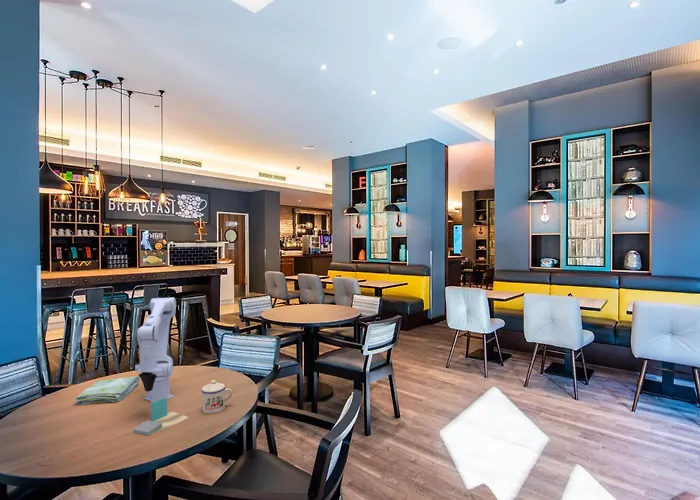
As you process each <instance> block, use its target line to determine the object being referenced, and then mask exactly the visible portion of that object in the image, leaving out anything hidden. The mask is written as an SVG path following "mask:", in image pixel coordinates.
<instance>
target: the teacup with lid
mask: <svg viewBox="0 0 700 500" xmlns="http://www.w3.org/2000/svg"><path fill="white" fill-rule="evenodd" d="M200 391H201V397H202V398H201V402H202V403H201V405H202V407H201V408H202V412H203V413H205V414H215V413H219V412H222V411H223V410H225V408H226V402H228V401H230V400H231V398H233V395H234V394H233V390H232V389H231V388H226V385H225V384H224V383H221V382H217V380H215V379H212V380H211V381H210V382H209V383H208V384H205V385H204V386H203V387H202V388H201V390H200ZM226 392H230V395H229V396H228V397H227V398H226V397H225V395H226Z"/></svg>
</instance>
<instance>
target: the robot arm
mask: <svg viewBox="0 0 700 500" xmlns="http://www.w3.org/2000/svg"><path fill="white" fill-rule="evenodd" d="M176 308H177V300H176V298H175V297H157V298H155V297H153V298H151V299H150V301H149V309H150V311H151V313H150V314H149V315H148V316H147V317H146V318H145V321H144V322H143V324H142V325H141V326H140V327H138V328H137V332H136V340H137V343H138V344H137V345H138V346H139V363H138V364H135V368H134V369H135V371H137V373H138V377H139V379H140V380H141V382H142V385H143V388H144V392H146V395H145V396H146V397H144V400H146V401H149V402H153V401H155V400H158V399H160V398H163V397H167V400H169V399H172V398H173V397H175V394H171V393H170V377H171V376H173V373H174V360H173V358H172V357H171V356H169V355H168V345H169V334H170V327H171V326H170V324H171V319H172V318H174V317H175V315H176V312H177V311H176V310H177V309H176Z"/></svg>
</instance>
